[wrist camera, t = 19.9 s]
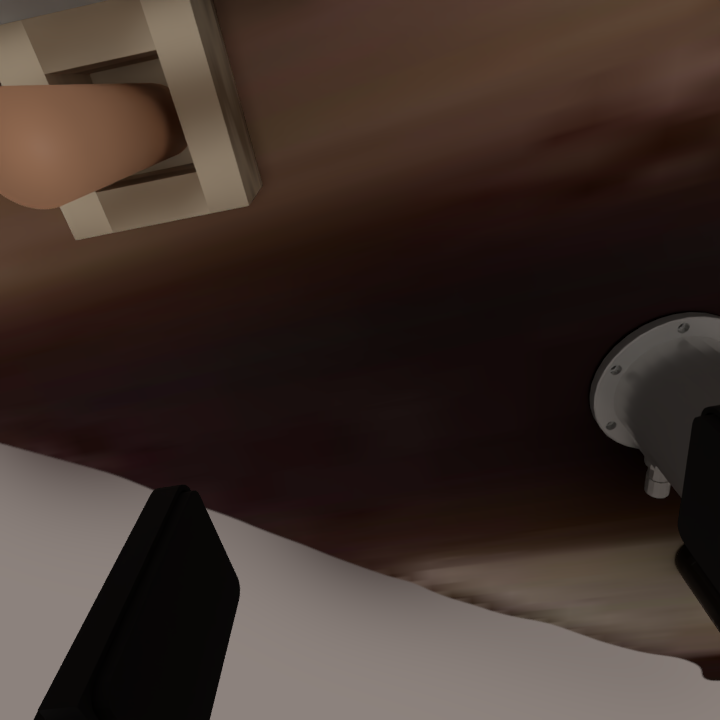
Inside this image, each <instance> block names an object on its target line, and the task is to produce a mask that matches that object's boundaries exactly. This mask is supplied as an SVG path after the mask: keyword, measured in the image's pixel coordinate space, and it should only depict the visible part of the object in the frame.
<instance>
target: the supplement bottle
mask: <svg viewBox="0 0 720 720" xmlns="http://www.w3.org/2000/svg"><path fill="white" fill-rule="evenodd" d="M676 567H677V569H678V571H679V573H680V574H681V576H682V577H683V579H684V580H685V582H686V583H687V585H688V586H689V588H690V589H691V591H692V592H693V594H694V595H695V597H696V598H697V600H698V601H699V603H700V604H701V606H702V607H703V608H704V610H705V611H706V613H707V614H708V616H709V617H710V619H711V620H712V622H713V623H714V625H715V626H716V628H717V629H718V631H719V632H720V594H719V592H718V591H717V590H716V588H715V587H714V585H713V584H712V582H711V581H710V580H709V578H708V577H707V575H706V574H705V572H704V571H703V570H702V568H701V567H700V565H699V564H698V562H697V561H696V560H695V558H694V557H693V555H692V554H691V552H690V551H689V550H688V548H687V547H686V545H684V546H683V547H682V548H681V549H680V550H679V552H678V554H677V557H676Z"/></svg>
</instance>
